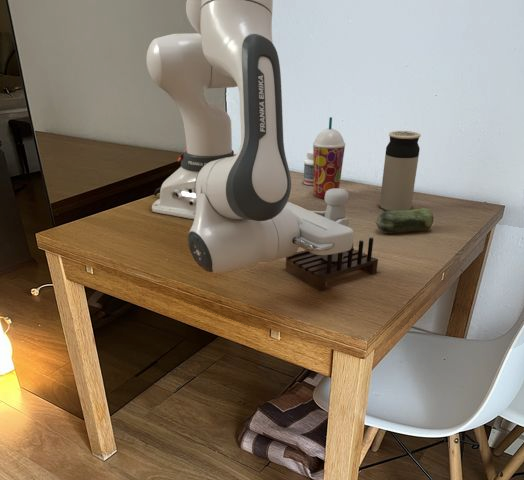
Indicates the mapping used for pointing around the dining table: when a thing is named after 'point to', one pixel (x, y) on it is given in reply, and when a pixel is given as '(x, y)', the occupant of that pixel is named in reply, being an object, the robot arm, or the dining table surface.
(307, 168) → the pill bottle
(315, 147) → the smoothie
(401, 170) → the travel mug
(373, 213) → the dining table surface
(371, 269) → the drying rack
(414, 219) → the vegetable
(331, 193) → the salt shaker
